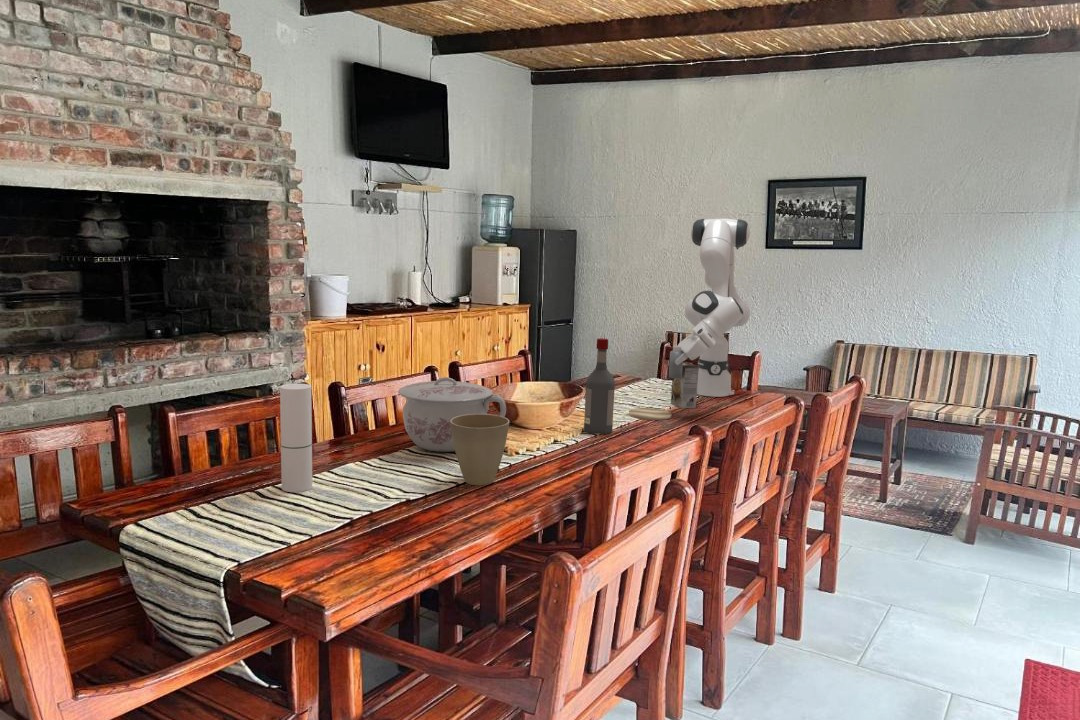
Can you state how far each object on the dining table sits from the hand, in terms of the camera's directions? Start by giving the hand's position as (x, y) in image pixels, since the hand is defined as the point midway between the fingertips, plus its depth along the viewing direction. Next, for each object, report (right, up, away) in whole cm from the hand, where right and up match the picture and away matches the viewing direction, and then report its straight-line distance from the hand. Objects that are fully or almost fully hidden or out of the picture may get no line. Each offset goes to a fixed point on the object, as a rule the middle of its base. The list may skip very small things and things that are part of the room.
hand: (674, 362), depth 282 cm
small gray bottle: (0, -5, +1) cm, 5 cm away
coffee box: (+7, -17, +22) cm, 29 cm away
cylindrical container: (-106, -30, -87) cm, 140 cm away
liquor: (-28, -22, -20) cm, 41 cm away
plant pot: (-63, -30, -77) cm, 104 cm away
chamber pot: (-75, -25, -46) cm, 91 cm away
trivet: (-8, -19, +4) cm, 21 cm away
